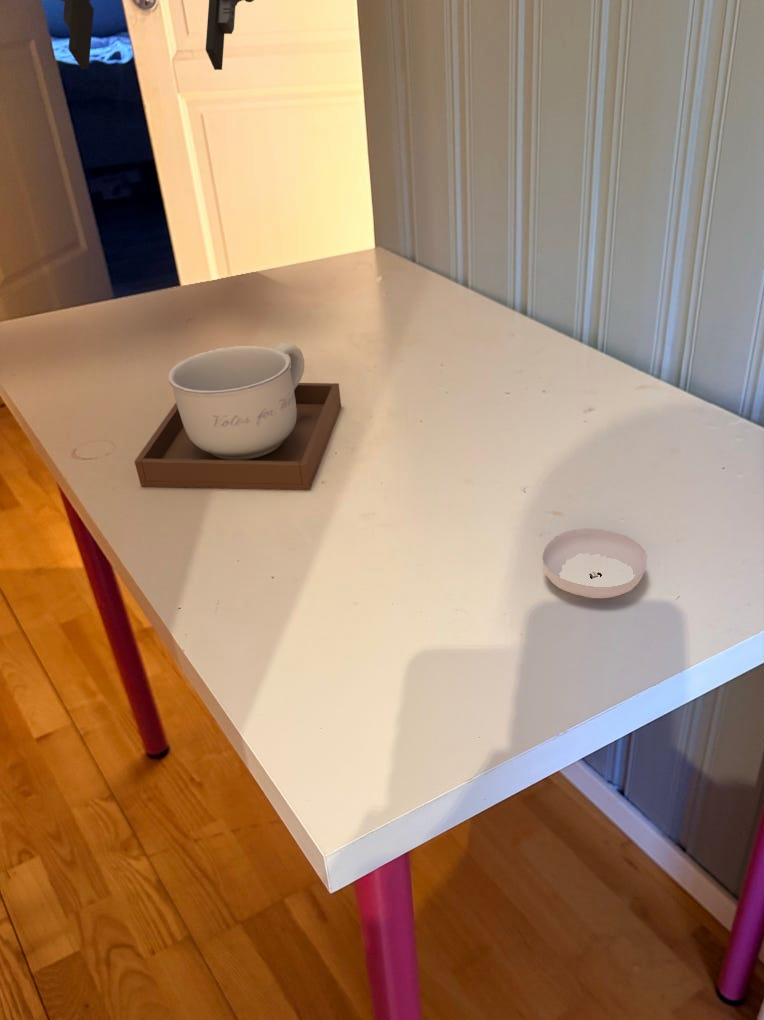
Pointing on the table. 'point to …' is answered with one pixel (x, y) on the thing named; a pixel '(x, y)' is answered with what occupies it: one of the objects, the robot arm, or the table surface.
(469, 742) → the table surface
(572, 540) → the shallow pink dish
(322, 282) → the table surface
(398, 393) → the table surface
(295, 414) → the teacup
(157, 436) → the tray
